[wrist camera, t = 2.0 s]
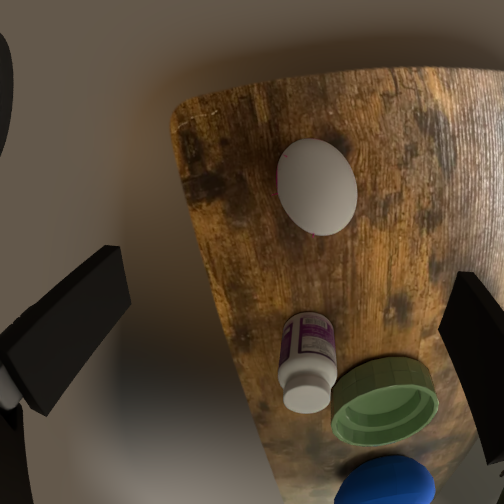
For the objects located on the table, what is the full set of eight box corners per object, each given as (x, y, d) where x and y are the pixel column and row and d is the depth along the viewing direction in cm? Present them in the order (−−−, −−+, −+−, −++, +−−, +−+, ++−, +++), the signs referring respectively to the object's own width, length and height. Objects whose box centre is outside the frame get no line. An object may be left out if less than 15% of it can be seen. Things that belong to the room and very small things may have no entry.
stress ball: (282, 143, 28) (231, 163, 24) (357, 121, 22) (312, 138, 18) (308, 217, 30) (264, 249, 26) (383, 211, 24) (347, 249, 20)
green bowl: (323, 417, 39) (322, 446, 34) (341, 351, 33) (344, 384, 29) (409, 416, 37) (414, 443, 32) (443, 352, 31) (455, 381, 27)
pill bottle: (301, 355, 34) (297, 424, 25) (273, 325, 33) (260, 395, 24) (343, 334, 32) (349, 405, 23) (316, 301, 31) (316, 372, 22)
